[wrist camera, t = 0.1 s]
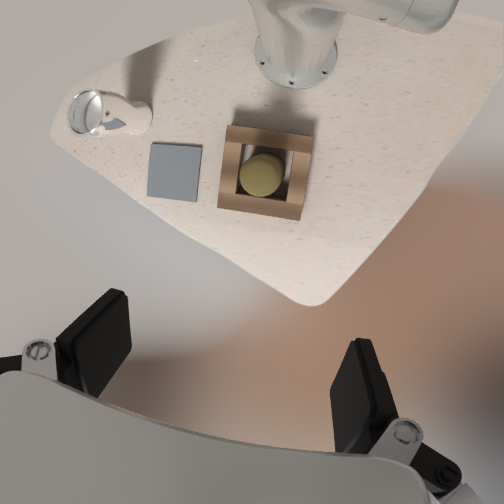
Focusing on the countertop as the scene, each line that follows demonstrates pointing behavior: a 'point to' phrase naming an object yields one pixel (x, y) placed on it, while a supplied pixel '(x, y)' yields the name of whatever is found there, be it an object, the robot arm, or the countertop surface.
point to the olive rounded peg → (262, 174)
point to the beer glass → (106, 114)
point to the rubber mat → (174, 172)
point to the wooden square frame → (233, 163)
